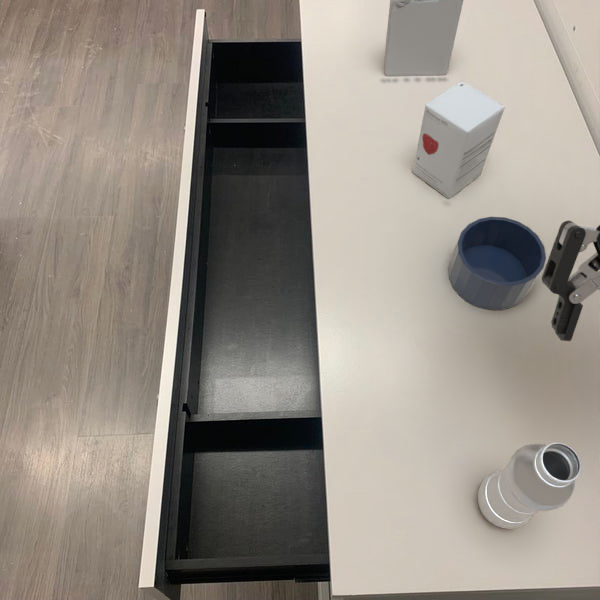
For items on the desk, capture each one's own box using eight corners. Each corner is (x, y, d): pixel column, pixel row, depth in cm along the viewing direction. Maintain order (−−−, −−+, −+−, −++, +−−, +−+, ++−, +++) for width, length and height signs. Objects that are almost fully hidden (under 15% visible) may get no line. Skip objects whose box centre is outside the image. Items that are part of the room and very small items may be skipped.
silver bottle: (534, 492, 66) (606, 447, 49) (516, 543, 63) (586, 514, 46) (484, 466, 68) (537, 413, 51) (465, 514, 65) (514, 476, 48)
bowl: (547, 287, 82) (564, 260, 76) (483, 323, 79) (496, 299, 73) (493, 233, 88) (505, 205, 82) (432, 265, 85) (440, 238, 79)
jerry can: (372, 77, 110) (383, -54, 89) (371, 62, 113) (382, -69, 91) (447, 76, 109) (476, -57, 88) (444, 61, 112) (472, -72, 90)
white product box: (410, 172, 95) (423, 103, 83) (444, 148, 98) (461, 78, 85) (448, 200, 92) (468, 132, 79) (482, 175, 94) (507, 105, 82)
